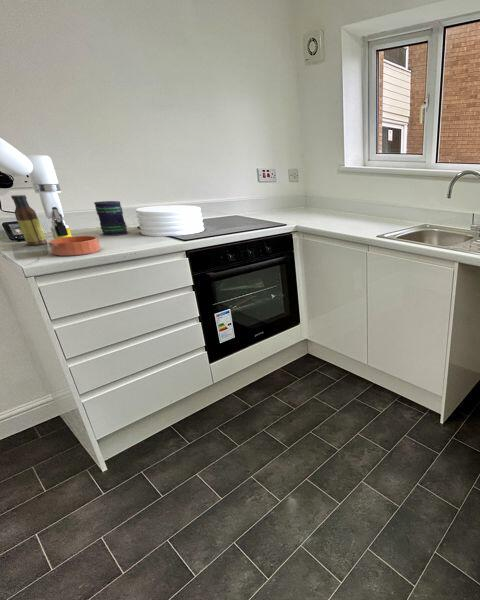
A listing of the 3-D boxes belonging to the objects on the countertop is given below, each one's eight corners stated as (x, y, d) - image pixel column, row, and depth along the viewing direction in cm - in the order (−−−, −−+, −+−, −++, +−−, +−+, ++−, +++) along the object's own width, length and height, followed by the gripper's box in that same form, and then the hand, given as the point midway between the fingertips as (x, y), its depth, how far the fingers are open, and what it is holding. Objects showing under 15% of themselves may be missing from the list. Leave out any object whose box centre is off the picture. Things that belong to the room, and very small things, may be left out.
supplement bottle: (78, 244, 148) (70, 220, 144) (65, 247, 143) (57, 222, 139) (66, 243, 149) (58, 219, 145) (52, 246, 143) (44, 221, 140)
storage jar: (98, 234, 169) (89, 202, 163) (120, 231, 177) (112, 200, 171) (110, 236, 165) (101, 203, 159) (132, 233, 173) (124, 202, 168)
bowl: (55, 258, 128) (50, 245, 126) (51, 251, 137) (46, 238, 135) (104, 252, 138) (100, 240, 136) (97, 246, 146) (94, 234, 145)
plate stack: (131, 230, 178) (126, 207, 174) (188, 224, 200) (184, 204, 196) (155, 238, 164) (150, 213, 159) (214, 231, 185) (211, 209, 181)
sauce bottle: (44, 241, 151) (28, 194, 143) (50, 243, 148) (33, 195, 140) (23, 244, 145) (5, 194, 138) (29, 246, 142) (10, 196, 135)
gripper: (32, 187, 140) (47, 232, 147) (35, 190, 129) (51, 238, 136) (57, 186, 145) (71, 230, 152) (62, 189, 135) (77, 236, 141)
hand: (61, 233), depth 144 cm, fingers closed on supplement bottle, 5 cm apart
